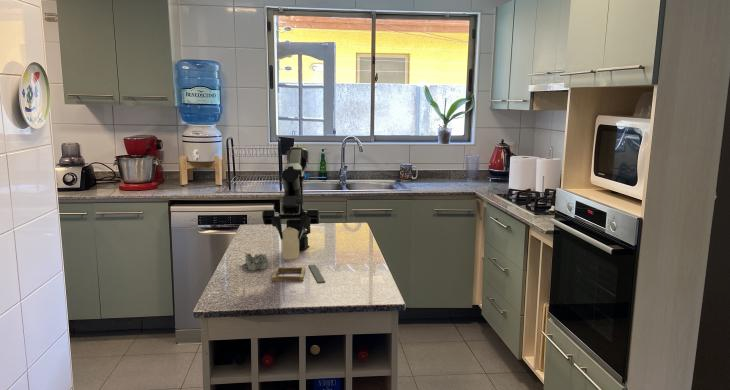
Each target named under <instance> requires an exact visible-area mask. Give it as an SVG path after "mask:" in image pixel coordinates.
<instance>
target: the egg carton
mask: <svg viewBox="0 0 730 390" xmlns="http://www.w3.org/2000/svg"><path fill="white" fill-rule="evenodd" d="M244 254H245V259H244V261H245V265H246V267H247V268H248V271H250V270H251V271H256V270H258V269H260V270H266V269H268V268H269V263H268V260H269V258H268V256H267V253H259V254H257V253H256V254H255V255H253V256H252V254H251V253H247V252H244Z"/></svg>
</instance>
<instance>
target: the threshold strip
mask: <svg viewBox="0 0 730 390" xmlns="http://www.w3.org/2000/svg"><path fill="white" fill-rule="evenodd" d="M308 268H309V269H310V271H311V273H312V275H313V277H314V279H315V280H316V283H317V284H321V283H323V284H324V283H326V280H325V278H324V277H323V275H322V273H321V272H320V270H319V268H318V267H317V265H316V264H308Z"/></svg>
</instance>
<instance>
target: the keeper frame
mask: <svg viewBox="0 0 730 390" xmlns="http://www.w3.org/2000/svg"><path fill="white" fill-rule="evenodd" d="M279 273H280V274H281V273H300V275H279ZM278 275H279V276H278ZM305 275H306V266H301V267H300V266H291V267H290V266H286V267H284V266H281V267H279V266H278V267H275V269H274V272H273V274H272V276H271V281H272V282H276V283H277V282H280V283H281V282H285V283H286V282H304V279H305Z"/></svg>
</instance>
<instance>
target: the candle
mask: <svg viewBox="0 0 730 390" xmlns="http://www.w3.org/2000/svg"><path fill="white" fill-rule="evenodd" d="M281 242H282V243H281V246H282V247H281V249H282V250H281V252H282V253H281V254H282V258H283V259H284V260H296V259H299V258H300V251H299V231H298V230H296V229H294V228H291V227H288V228H287V227H285V229H284V230H282V240H281Z"/></svg>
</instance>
